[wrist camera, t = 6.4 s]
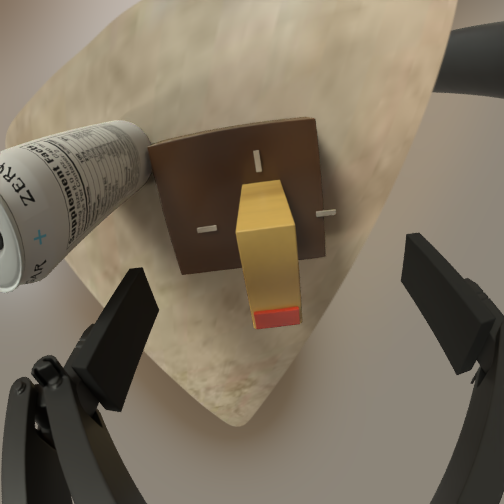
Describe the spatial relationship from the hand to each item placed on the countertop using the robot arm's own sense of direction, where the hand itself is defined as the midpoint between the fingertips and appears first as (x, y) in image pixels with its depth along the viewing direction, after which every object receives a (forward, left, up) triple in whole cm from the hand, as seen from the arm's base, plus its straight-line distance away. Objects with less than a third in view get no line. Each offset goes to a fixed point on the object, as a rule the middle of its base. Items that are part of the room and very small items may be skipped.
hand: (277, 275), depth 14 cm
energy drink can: (+11, -6, -10) cm, 16 cm away
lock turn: (0, 0, -7) cm, 7 cm away
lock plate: (+2, -1, -10) cm, 10 cm away
